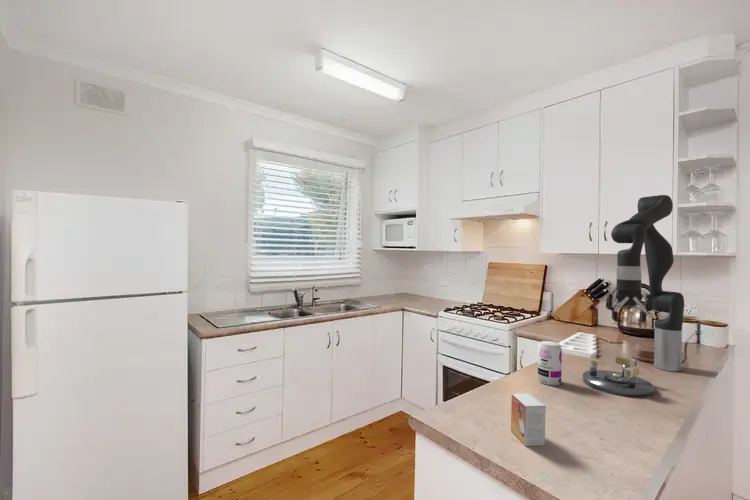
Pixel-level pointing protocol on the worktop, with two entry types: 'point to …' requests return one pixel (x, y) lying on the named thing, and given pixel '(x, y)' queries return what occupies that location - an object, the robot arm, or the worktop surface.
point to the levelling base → (617, 384)
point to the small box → (528, 419)
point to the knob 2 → (631, 375)
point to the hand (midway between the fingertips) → (628, 321)
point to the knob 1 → (593, 366)
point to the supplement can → (549, 362)
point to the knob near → (626, 362)
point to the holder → (580, 345)
